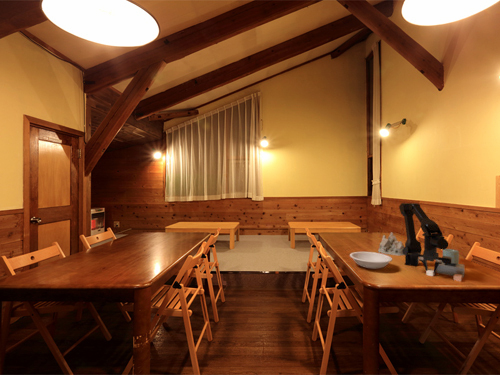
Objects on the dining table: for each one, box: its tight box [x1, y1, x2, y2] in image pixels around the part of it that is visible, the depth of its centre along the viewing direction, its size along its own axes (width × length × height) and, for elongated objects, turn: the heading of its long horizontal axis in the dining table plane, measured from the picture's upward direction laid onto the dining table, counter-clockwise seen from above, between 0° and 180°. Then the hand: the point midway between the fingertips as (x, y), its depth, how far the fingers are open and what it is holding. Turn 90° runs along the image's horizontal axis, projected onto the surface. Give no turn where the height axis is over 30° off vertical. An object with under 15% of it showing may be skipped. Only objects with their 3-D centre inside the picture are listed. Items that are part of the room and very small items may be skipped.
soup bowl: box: [349, 251, 393, 270], centre depth 159 cm, size 24×24×7 cm
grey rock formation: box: [377, 231, 405, 257], centre depth 192 cm, size 16×16×15 cm
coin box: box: [435, 262, 465, 279], centre depth 146 cm, size 12×9×5 cm
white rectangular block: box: [425, 268, 436, 277], centre depth 144 cm, size 3×5×2 cm, turn 133°
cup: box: [442, 248, 460, 264], centre depth 158 cm, size 8×8×10 cm
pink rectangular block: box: [453, 274, 463, 282], centre depth 136 cm, size 3×5×2 cm, turn 133°
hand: (430, 272), depth 144 cm, fingers closed on white rectangular block, 3 cm apart
